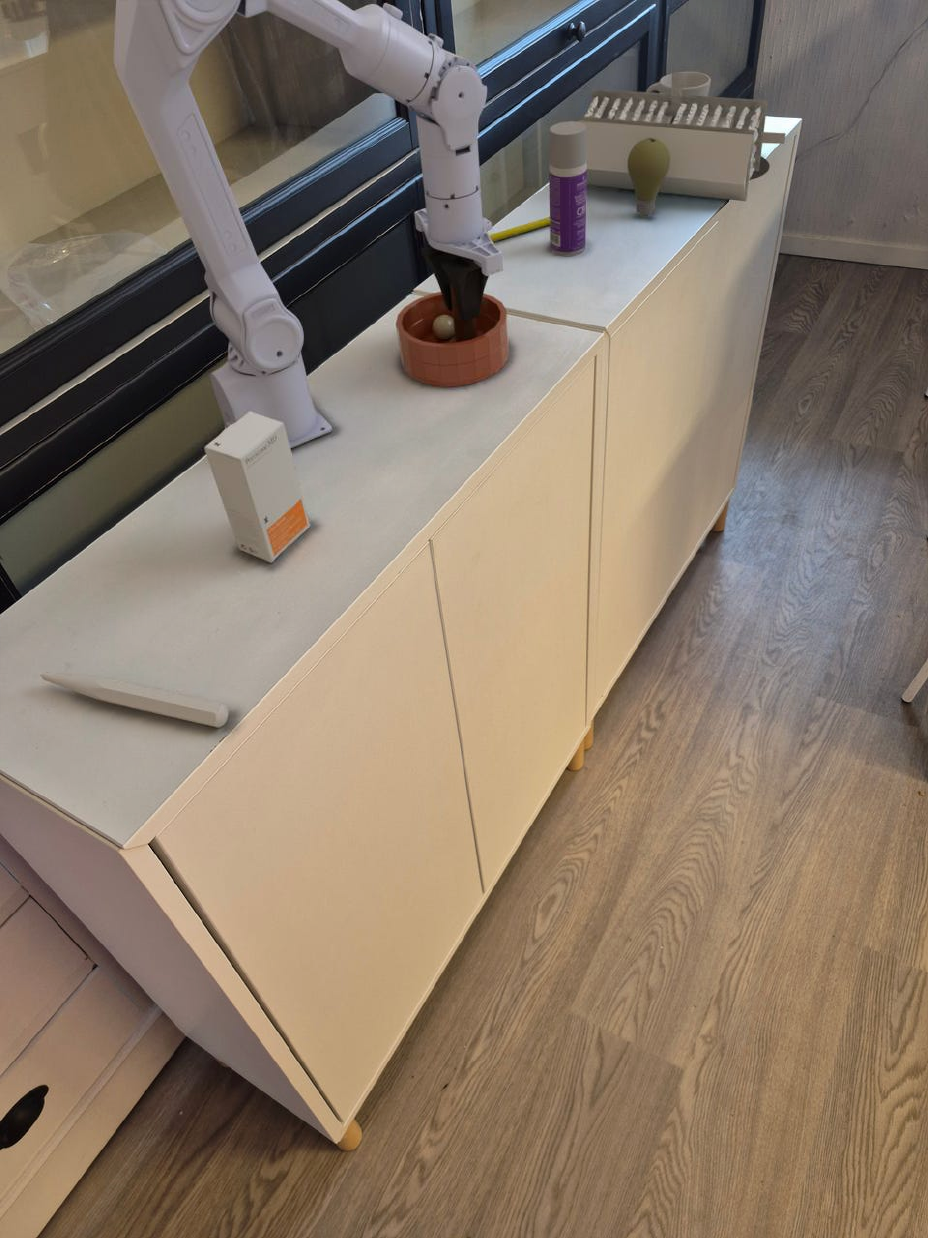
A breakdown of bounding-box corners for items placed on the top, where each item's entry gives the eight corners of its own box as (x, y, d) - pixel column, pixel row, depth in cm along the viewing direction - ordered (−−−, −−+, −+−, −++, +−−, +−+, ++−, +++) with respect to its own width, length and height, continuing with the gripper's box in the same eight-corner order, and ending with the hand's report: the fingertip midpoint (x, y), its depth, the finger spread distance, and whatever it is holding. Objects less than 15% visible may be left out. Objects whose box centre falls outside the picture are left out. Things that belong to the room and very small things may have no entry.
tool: (47, 660, 75) (46, 683, 75) (32, 665, 73) (31, 688, 74) (232, 702, 71) (231, 726, 71) (221, 708, 69) (219, 732, 69)
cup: (698, 150, 139) (704, 89, 132) (635, 146, 142) (638, 86, 136) (709, 132, 143) (716, 72, 137) (647, 128, 146) (651, 69, 140)
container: (583, 256, 119) (585, 134, 108) (548, 255, 120) (546, 135, 109) (587, 240, 122) (589, 120, 111) (552, 239, 123) (551, 120, 112)
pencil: (565, 221, 127) (561, 215, 127) (566, 216, 126) (563, 210, 126) (460, 253, 123) (456, 247, 123) (460, 248, 122) (457, 242, 122)
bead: (438, 347, 106) (449, 333, 104) (423, 328, 106) (435, 313, 103) (453, 340, 108) (465, 326, 105) (439, 321, 107) (450, 306, 105)
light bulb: (672, 210, 126) (678, 134, 118) (655, 227, 123) (661, 149, 115) (635, 204, 128) (639, 128, 121) (618, 220, 125) (621, 144, 118)
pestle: (462, 362, 102) (455, 295, 96) (443, 349, 104) (435, 283, 99) (491, 350, 103) (485, 283, 98) (471, 337, 106) (465, 271, 100)
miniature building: (780, 172, 127) (762, 220, 124) (595, 154, 136) (573, 198, 132) (793, 79, 116) (774, 128, 112) (590, 67, 125) (566, 112, 121)
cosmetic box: (272, 565, 83) (238, 460, 74) (238, 550, 85) (200, 446, 76) (313, 525, 86) (285, 421, 77) (279, 512, 88) (248, 408, 79)
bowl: (436, 399, 99) (431, 359, 95) (383, 352, 106) (376, 313, 103) (529, 360, 103) (528, 320, 99) (471, 318, 110) (468, 279, 106)
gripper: (525, 198, 87) (529, 326, 97) (449, 156, 96) (459, 277, 106) (464, 219, 85) (475, 348, 95) (391, 174, 94) (408, 296, 104)
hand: (463, 312), depth 101 cm, fingers closed on pestle, 2 cm apart
